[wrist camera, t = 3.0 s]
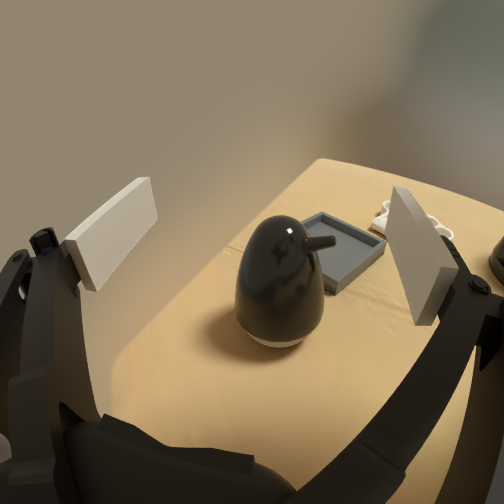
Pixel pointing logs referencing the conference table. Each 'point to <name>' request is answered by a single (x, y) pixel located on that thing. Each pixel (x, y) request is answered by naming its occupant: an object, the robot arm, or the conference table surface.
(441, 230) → the knuckle duster
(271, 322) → the pump dispenser
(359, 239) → the holder tray
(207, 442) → the conference table surface
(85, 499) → the robot arm
